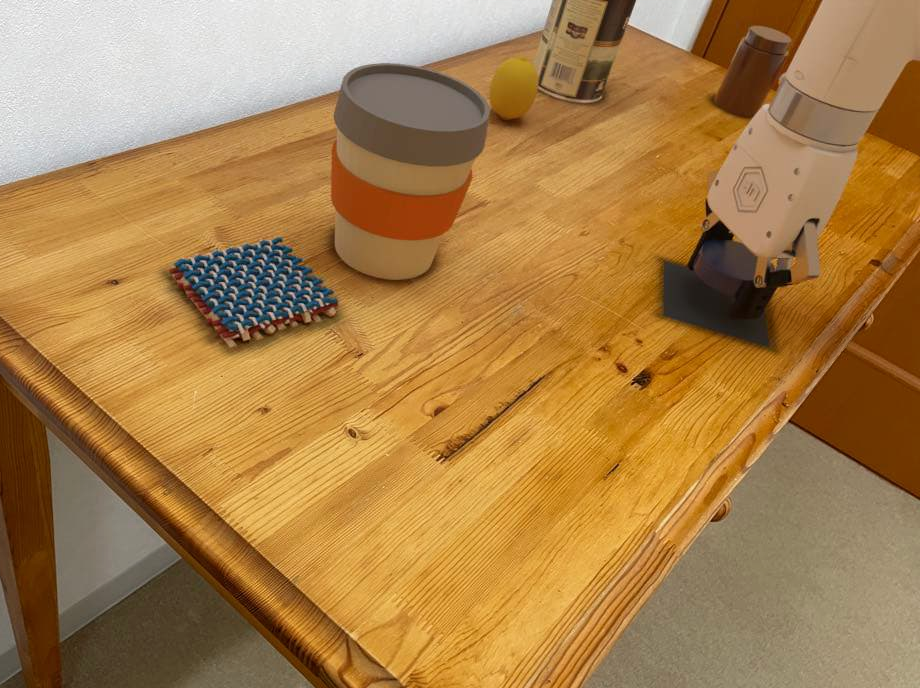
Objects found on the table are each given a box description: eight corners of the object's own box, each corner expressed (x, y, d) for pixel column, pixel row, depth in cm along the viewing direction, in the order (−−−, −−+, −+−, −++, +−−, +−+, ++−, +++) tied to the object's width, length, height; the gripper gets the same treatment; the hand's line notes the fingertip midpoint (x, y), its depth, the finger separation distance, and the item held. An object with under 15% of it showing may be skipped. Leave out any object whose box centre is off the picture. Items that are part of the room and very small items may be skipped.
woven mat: (163, 277, 69) (163, 256, 68) (276, 251, 75) (278, 231, 73) (225, 354, 64) (226, 333, 62) (341, 319, 69) (345, 300, 68)
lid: (692, 285, 77) (701, 268, 75) (691, 248, 82) (699, 231, 80) (769, 307, 76) (779, 289, 75) (763, 267, 81) (772, 251, 80)
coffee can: (594, 79, 119) (632, -27, 110) (607, 111, 112) (649, -1, 102) (523, 66, 118) (555, -43, 108) (532, 97, 110) (567, -17, 101)
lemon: (501, 107, 106) (519, 43, 101) (535, 126, 104) (555, 62, 99) (473, 115, 103) (490, 49, 98) (507, 135, 101) (527, 69, 95)
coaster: (760, 293, 84) (762, 289, 84) (768, 351, 77) (770, 348, 77) (662, 264, 85) (663, 260, 85) (661, 319, 78) (662, 315, 78)
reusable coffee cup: (388, 313, 71) (425, 147, 61) (285, 241, 76) (305, 77, 66) (477, 265, 79) (523, 112, 69) (378, 203, 84) (409, 52, 74)
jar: (755, 107, 123) (792, 33, 115) (758, 124, 118) (797, 48, 111) (711, 95, 123) (745, 20, 116) (713, 111, 118) (748, 34, 111)
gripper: (723, 63, 73) (644, 240, 85) (850, 166, 61) (737, 354, 73) (794, 69, 75) (707, 240, 87) (929, 169, 63) (807, 350, 75)
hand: (721, 291), depth 80 cm, fingers closed on lid, 6 cm apart
